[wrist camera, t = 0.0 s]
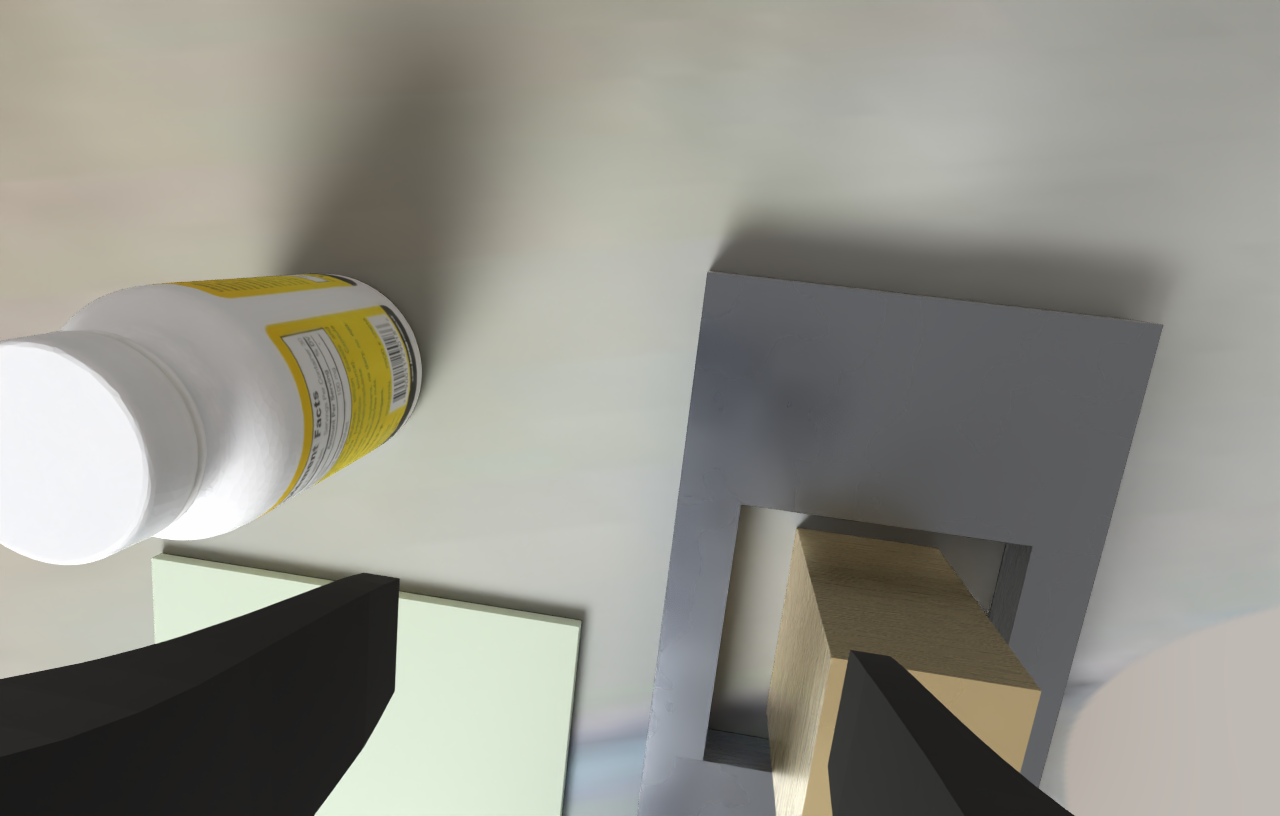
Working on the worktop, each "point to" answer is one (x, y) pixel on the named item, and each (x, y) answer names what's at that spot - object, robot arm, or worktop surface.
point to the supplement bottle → (194, 408)
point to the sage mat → (425, 695)
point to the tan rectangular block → (886, 625)
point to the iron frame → (888, 479)
